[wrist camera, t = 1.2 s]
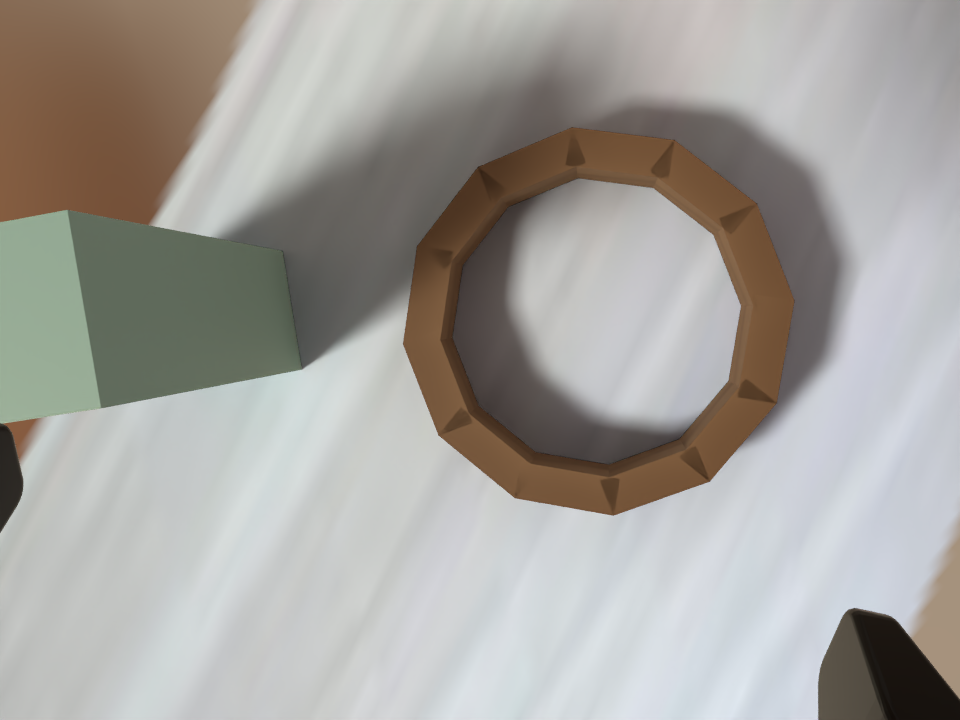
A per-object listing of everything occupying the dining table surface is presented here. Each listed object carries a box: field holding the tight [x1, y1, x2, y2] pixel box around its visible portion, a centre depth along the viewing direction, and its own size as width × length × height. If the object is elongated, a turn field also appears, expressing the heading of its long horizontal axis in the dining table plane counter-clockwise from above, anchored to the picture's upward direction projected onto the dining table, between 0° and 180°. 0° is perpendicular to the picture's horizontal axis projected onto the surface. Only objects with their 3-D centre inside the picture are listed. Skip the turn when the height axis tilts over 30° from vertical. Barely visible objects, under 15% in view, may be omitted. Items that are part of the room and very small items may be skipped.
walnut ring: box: [403, 127, 795, 516], centre depth 25 cm, size 10×10×2 cm
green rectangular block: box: [0, 210, 302, 424], centre depth 22 cm, size 4×4×11 cm
